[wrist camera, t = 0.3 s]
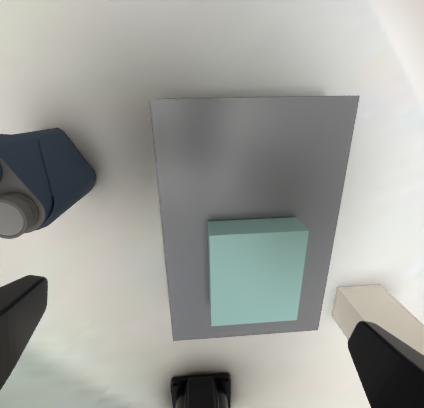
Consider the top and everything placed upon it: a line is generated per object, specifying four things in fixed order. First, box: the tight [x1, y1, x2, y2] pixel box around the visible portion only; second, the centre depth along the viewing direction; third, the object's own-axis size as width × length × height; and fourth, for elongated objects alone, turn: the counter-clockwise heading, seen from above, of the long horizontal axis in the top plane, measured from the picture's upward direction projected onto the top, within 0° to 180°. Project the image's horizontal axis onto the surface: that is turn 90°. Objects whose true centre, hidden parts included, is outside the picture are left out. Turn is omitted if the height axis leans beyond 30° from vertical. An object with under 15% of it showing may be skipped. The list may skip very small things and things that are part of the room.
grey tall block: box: [332, 284, 424, 355], centre depth 22 cm, size 4×4×9 cm
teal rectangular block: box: [207, 217, 309, 326], centre depth 17 cm, size 7×6×2 cm
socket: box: [150, 96, 359, 341], centre depth 19 cm, size 18×12×4 cm, turn 1°
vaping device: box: [0, 128, 95, 239], centre depth 13 cm, size 3×5×12 cm, turn 29°
